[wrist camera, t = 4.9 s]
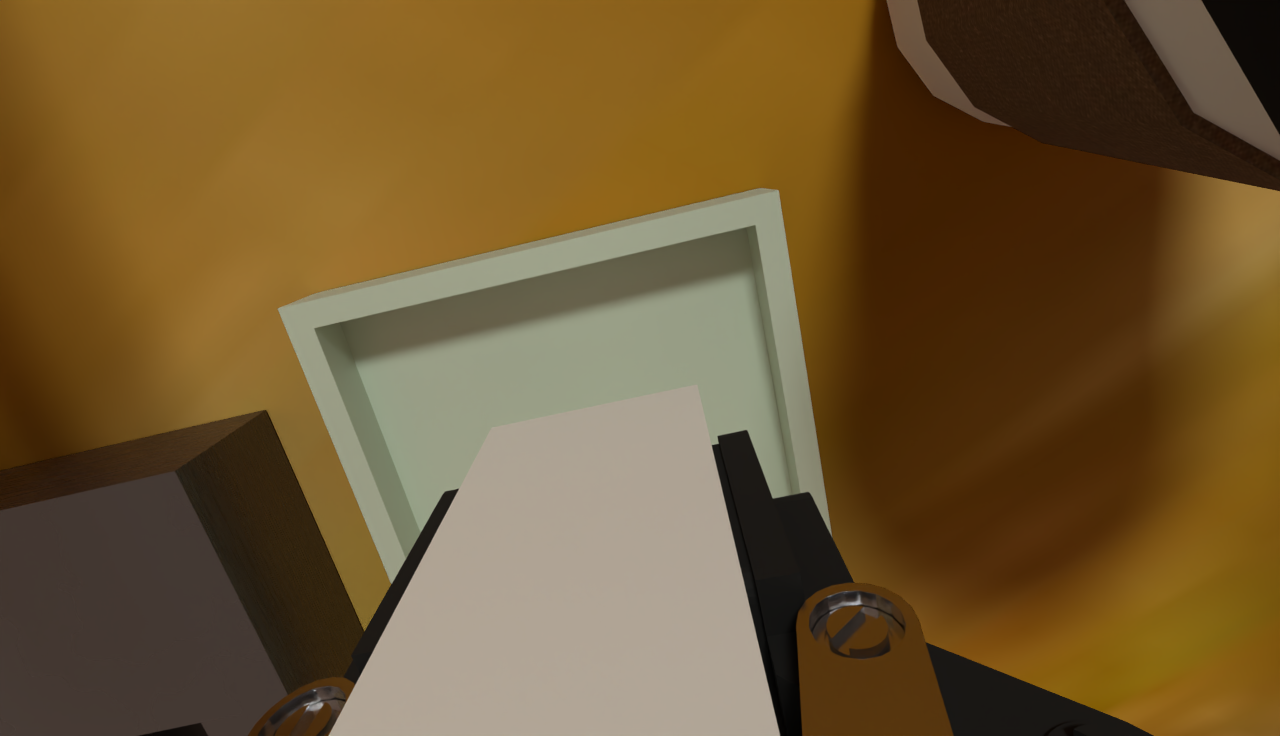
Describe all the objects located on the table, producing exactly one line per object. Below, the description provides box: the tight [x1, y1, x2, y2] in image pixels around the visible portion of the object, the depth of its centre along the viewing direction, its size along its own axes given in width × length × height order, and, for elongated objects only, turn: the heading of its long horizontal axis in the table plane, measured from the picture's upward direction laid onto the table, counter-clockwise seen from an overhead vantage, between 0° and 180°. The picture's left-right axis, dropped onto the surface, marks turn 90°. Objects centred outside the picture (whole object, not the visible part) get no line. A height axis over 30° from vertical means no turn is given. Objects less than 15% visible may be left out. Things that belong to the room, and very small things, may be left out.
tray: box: [278, 188, 832, 584], centre depth 16 cm, size 11×11×2 cm
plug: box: [329, 384, 780, 736], centre depth 8 cm, size 4×4×10 cm
